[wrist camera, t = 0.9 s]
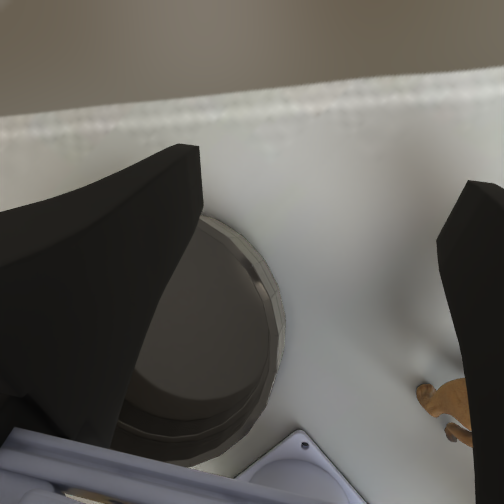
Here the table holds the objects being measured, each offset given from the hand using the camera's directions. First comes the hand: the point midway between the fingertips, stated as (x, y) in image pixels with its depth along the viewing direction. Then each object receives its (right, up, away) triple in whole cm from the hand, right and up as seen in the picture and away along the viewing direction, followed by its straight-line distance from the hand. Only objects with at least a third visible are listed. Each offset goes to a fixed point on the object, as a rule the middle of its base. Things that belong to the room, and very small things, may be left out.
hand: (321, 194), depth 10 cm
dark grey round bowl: (-7, -7, +15) cm, 18 cm away
